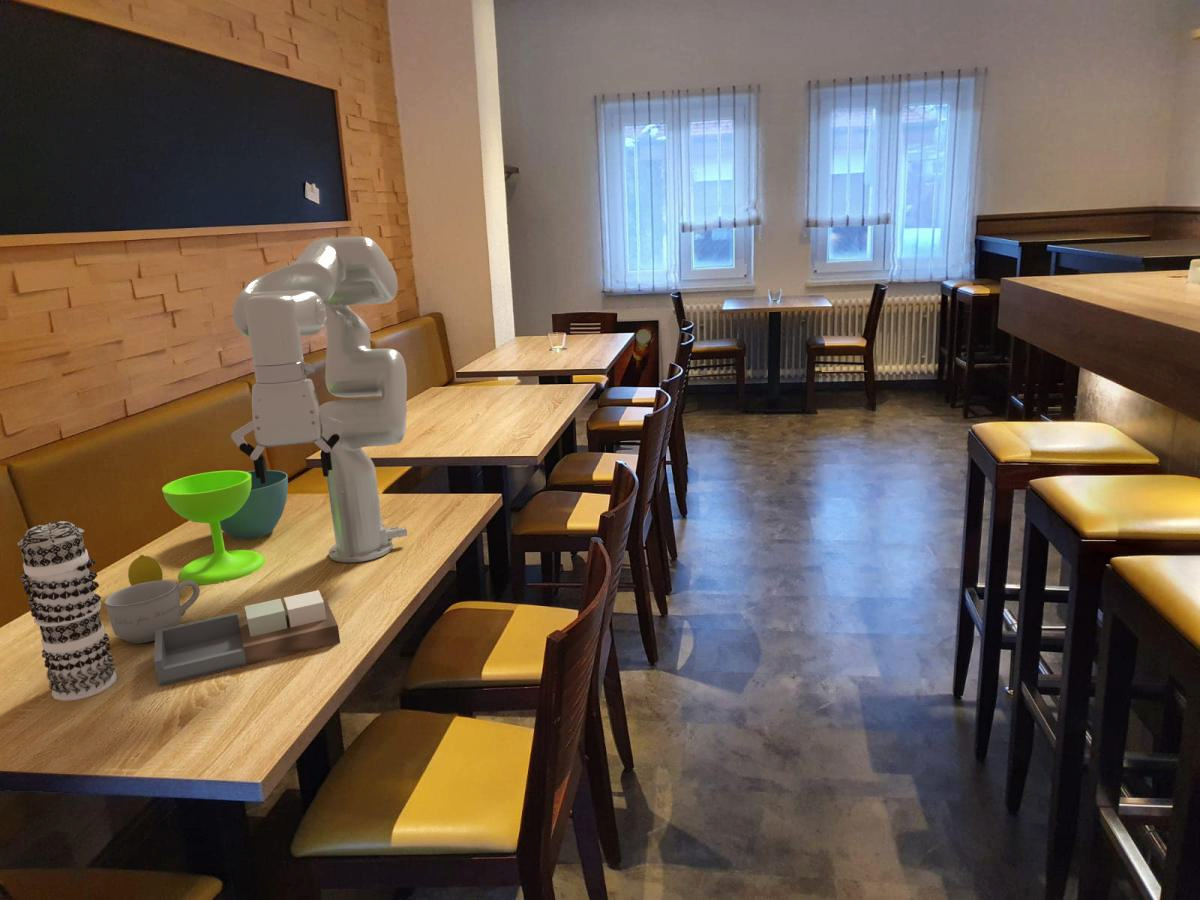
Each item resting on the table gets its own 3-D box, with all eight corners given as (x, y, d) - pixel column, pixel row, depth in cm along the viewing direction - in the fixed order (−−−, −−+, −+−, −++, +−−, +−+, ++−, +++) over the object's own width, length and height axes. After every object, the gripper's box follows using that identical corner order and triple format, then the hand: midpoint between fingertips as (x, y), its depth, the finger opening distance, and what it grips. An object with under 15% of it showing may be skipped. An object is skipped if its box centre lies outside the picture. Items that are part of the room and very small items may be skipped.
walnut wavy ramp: (328, 614, 147) (325, 598, 146) (340, 642, 137) (337, 624, 136) (240, 634, 141) (237, 617, 141) (246, 665, 131) (243, 647, 130)
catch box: (240, 634, 141) (236, 612, 140) (246, 665, 131) (242, 641, 130) (160, 653, 136) (155, 630, 135) (159, 686, 126) (154, 662, 125)
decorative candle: (97, 665, 134) (63, 513, 127) (133, 677, 129) (99, 520, 123) (36, 693, 126) (-4, 533, 120) (71, 707, 121) (32, 542, 115)
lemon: (152, 602, 157) (144, 561, 154) (126, 601, 158) (117, 560, 156) (172, 589, 162) (164, 550, 160) (147, 588, 163) (139, 549, 161)
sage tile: (283, 615, 141) (280, 598, 140) (287, 628, 136) (284, 610, 135) (247, 623, 138) (244, 606, 138) (250, 636, 134) (247, 619, 133)
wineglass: (281, 554, 177) (268, 470, 172) (232, 586, 162) (216, 495, 157) (214, 552, 181) (199, 470, 176) (160, 582, 166) (142, 493, 161)
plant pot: (190, 541, 188) (180, 487, 185) (260, 516, 203) (252, 466, 200) (242, 553, 179) (233, 497, 175) (312, 526, 193) (304, 474, 190)
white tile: (321, 606, 143) (318, 590, 142) (326, 619, 138) (323, 602, 138) (286, 614, 141) (283, 597, 140) (290, 627, 136) (287, 610, 135)
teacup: (112, 656, 136) (102, 610, 134) (114, 630, 146) (105, 587, 144) (207, 634, 142) (199, 589, 140) (203, 610, 152) (195, 568, 150)
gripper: (338, 366, 141) (351, 466, 145) (226, 375, 137) (243, 478, 141) (336, 372, 134) (349, 477, 138) (217, 382, 130) (235, 490, 134)
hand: (295, 478), depth 140 cm, fingers open, 9 cm apart
